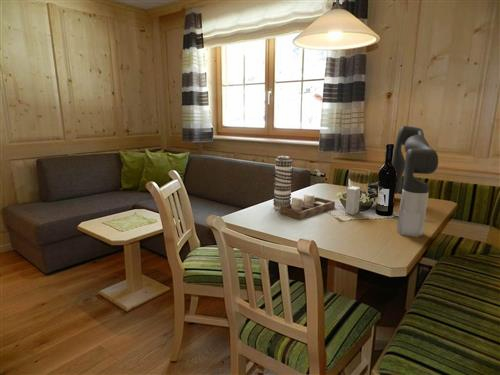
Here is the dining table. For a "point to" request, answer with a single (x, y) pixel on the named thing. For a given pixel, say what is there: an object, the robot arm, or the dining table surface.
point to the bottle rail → (308, 210)
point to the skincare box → (352, 200)
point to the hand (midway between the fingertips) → (361, 194)
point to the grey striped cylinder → (282, 181)
